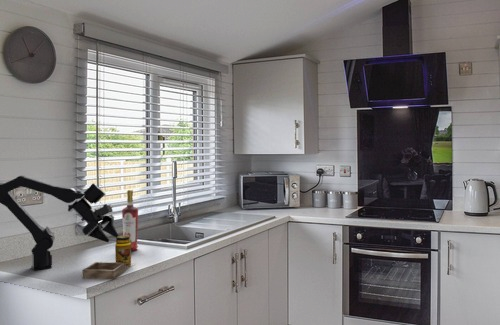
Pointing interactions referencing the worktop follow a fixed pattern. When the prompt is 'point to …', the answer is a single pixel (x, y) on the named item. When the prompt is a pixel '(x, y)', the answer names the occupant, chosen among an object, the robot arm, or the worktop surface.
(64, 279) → the worktop surface
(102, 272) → the walnut tray
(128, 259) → the condiment
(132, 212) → the liquor
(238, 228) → the worktop surface
